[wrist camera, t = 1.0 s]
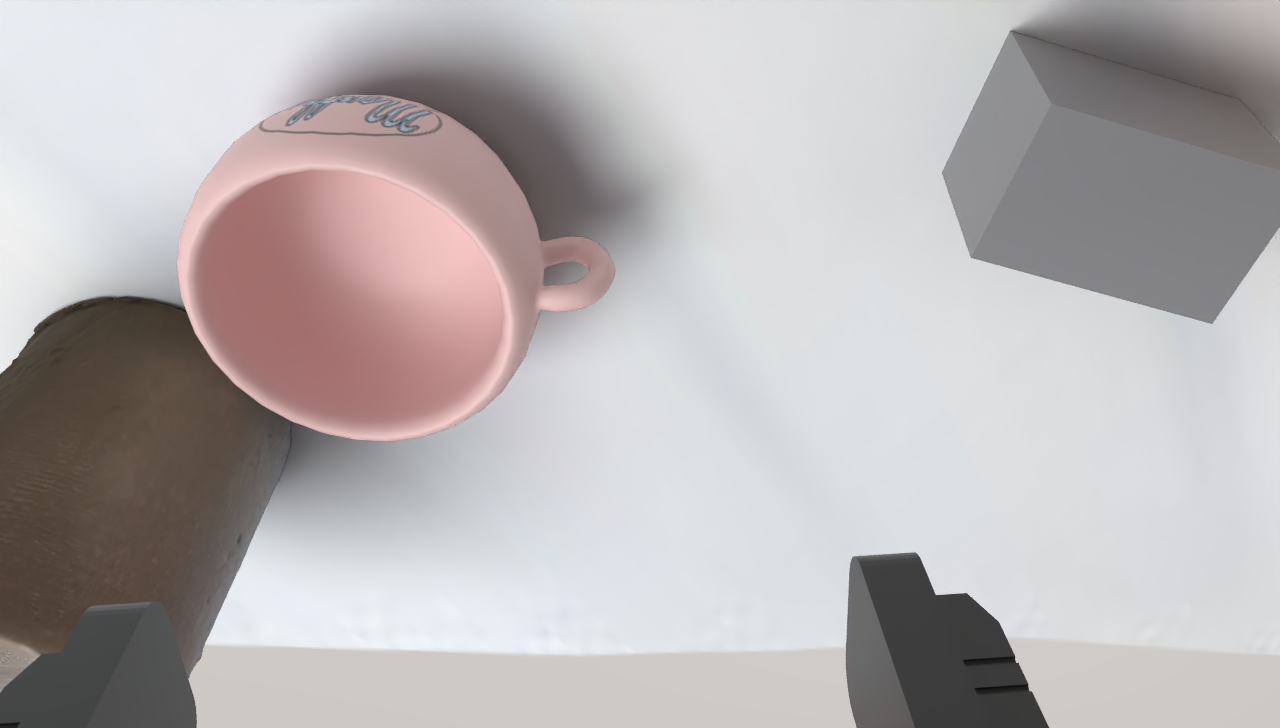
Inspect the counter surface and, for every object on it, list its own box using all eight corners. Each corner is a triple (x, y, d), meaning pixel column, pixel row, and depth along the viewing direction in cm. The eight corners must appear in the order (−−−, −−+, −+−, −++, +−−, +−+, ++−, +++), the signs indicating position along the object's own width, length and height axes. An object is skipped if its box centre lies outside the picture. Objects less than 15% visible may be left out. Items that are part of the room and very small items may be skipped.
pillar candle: (-7, 279, 39) (-337, 634, 27) (286, 313, 39) (88, 681, 27) (53, 492, 45) (-195, 861, 33) (307, 521, 45) (153, 899, 33)
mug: (268, 332, 39) (206, 446, 35) (207, 49, 34) (122, 137, 29) (622, 346, 39) (609, 463, 34) (623, 61, 33) (607, 153, 28)
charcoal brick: (1009, 29, 32) (1051, 103, 28) (1238, 98, 33) (1312, 180, 29) (941, 171, 35) (971, 257, 31) (1155, 231, 35) (1211, 323, 31)
